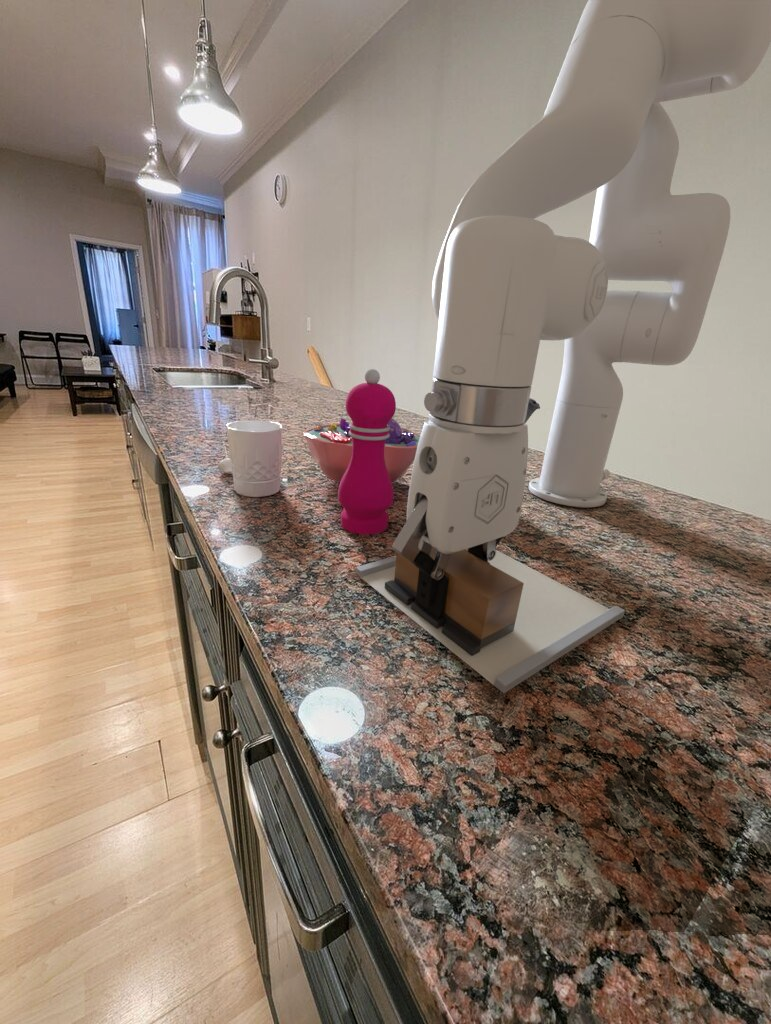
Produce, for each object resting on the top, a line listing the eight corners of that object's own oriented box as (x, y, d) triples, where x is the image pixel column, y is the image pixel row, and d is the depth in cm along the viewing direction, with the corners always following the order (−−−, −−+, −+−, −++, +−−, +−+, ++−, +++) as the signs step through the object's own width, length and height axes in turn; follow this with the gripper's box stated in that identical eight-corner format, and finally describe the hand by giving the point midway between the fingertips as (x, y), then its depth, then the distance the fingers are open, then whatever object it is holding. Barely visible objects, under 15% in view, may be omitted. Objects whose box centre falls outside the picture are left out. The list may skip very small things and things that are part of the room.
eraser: (426, 573, 48) (431, 531, 46) (513, 631, 40) (524, 582, 38) (393, 584, 45) (397, 540, 43) (479, 649, 37) (488, 598, 35)
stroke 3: (441, 632, 39) (442, 626, 39) (449, 628, 40) (450, 622, 39) (471, 656, 36) (473, 649, 36) (480, 652, 37) (481, 645, 37)
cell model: (319, 462, 85) (320, 402, 80) (424, 473, 83) (431, 412, 78) (289, 491, 69) (288, 418, 65) (417, 506, 67) (425, 432, 63)
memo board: (471, 538, 58) (472, 532, 57) (622, 618, 43) (625, 610, 43) (355, 575, 47) (355, 567, 47) (503, 696, 33) (505, 685, 33)
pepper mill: (385, 541, 55) (397, 374, 48) (329, 533, 57) (333, 368, 49) (395, 519, 62) (408, 369, 54) (345, 512, 63) (351, 364, 56)
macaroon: (247, 470, 77) (246, 456, 76) (240, 479, 73) (239, 464, 72) (222, 469, 77) (221, 455, 76) (213, 478, 73) (212, 463, 72)
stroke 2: (410, 608, 42) (411, 602, 42) (418, 605, 43) (419, 599, 42) (436, 629, 39) (437, 622, 39) (444, 625, 40) (445, 619, 40)
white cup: (237, 480, 72) (233, 418, 68) (286, 482, 73) (285, 421, 69) (225, 498, 65) (220, 430, 61) (280, 499, 66) (278, 432, 62)
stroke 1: (384, 588, 45) (384, 582, 45) (391, 585, 46) (392, 579, 45) (406, 605, 42) (407, 599, 42) (414, 602, 43) (415, 596, 43)
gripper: (430, 422, 28) (406, 656, 35) (580, 408, 37) (537, 593, 44) (362, 402, 33) (353, 608, 40) (508, 394, 43) (480, 561, 50)
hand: (450, 598), depth 42 cm, fingers closed on eraser, 4 cm apart
